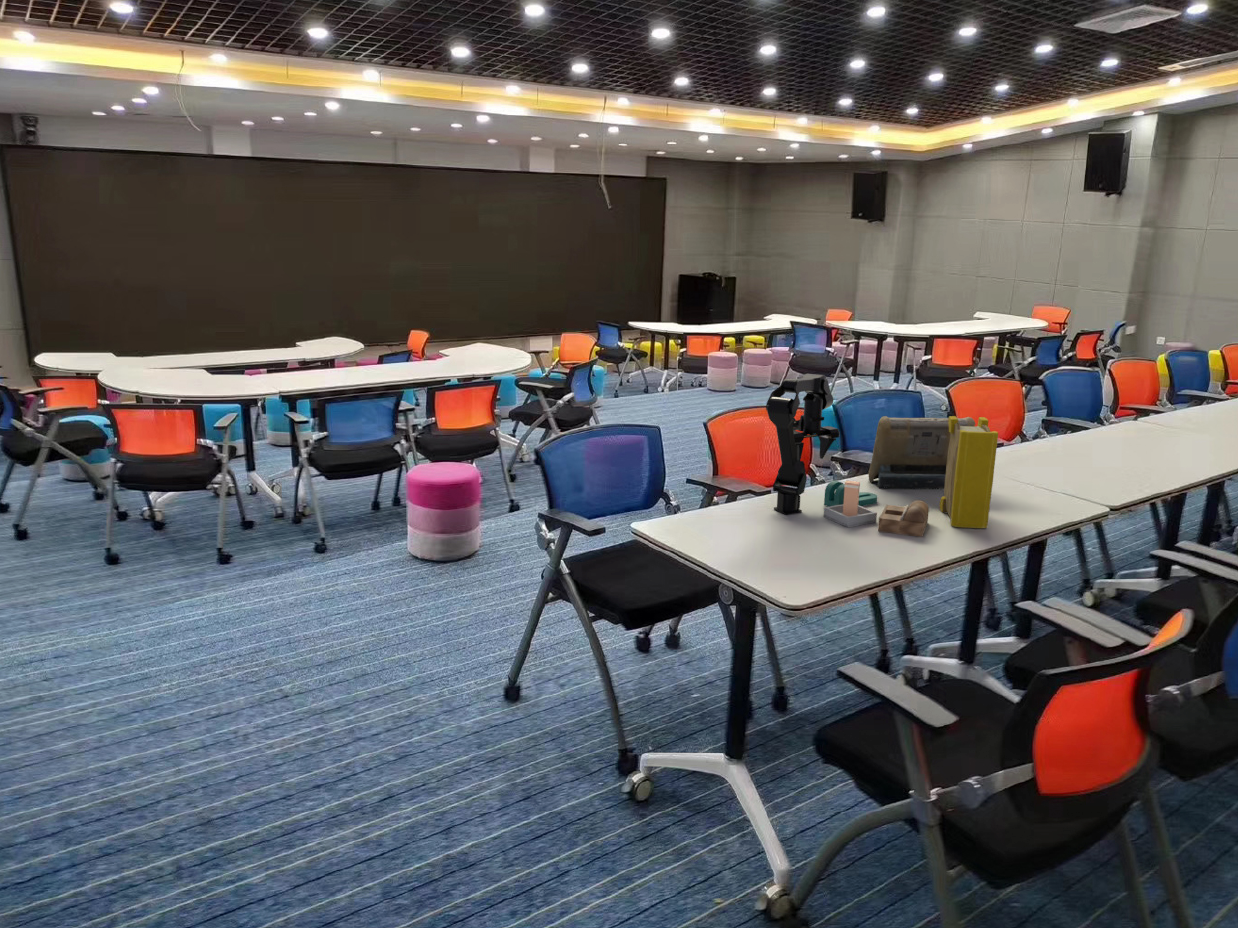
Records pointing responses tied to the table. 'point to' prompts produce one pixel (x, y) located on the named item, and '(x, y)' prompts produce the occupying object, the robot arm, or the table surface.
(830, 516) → the tray
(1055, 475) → the table surface
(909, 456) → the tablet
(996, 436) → the decorative book
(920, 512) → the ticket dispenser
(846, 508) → the peach block
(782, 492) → the robot arm
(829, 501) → the bracket
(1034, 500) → the table surface
